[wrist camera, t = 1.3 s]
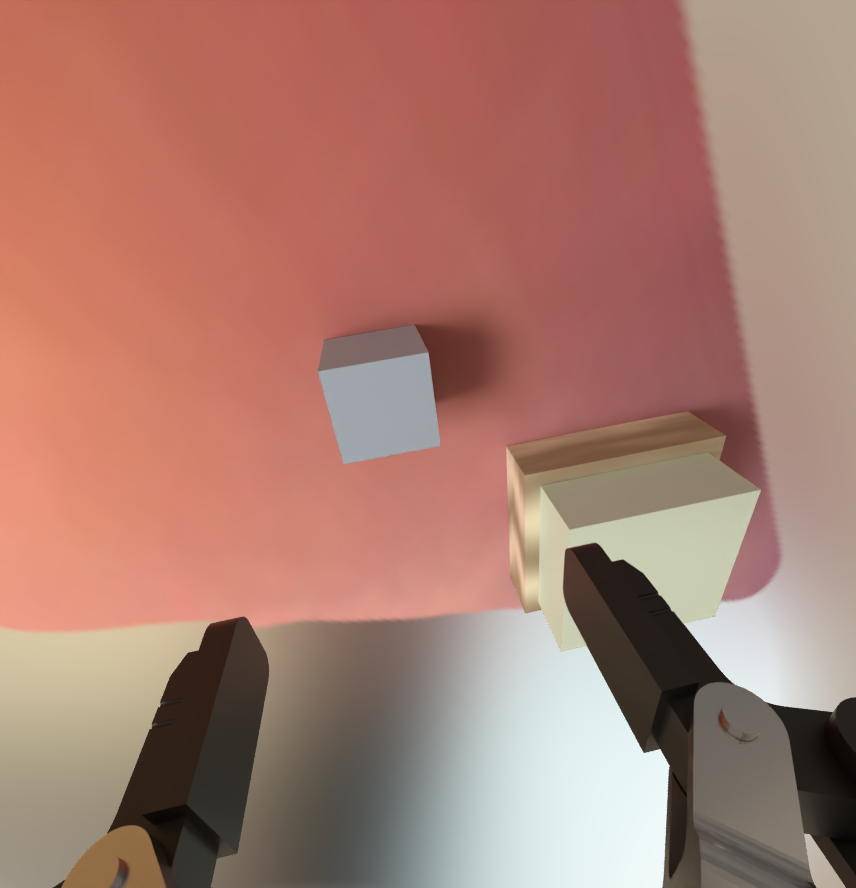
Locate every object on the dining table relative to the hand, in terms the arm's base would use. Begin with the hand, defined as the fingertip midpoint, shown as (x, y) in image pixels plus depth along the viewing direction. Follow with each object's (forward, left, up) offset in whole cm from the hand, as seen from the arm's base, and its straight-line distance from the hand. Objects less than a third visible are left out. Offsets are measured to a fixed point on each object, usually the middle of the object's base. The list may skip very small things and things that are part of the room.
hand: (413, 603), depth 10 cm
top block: (+13, +14, -12) cm, 23 cm away
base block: (+13, +14, -17) cm, 25 cm away
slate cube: (0, 0, -16) cm, 16 cm away
